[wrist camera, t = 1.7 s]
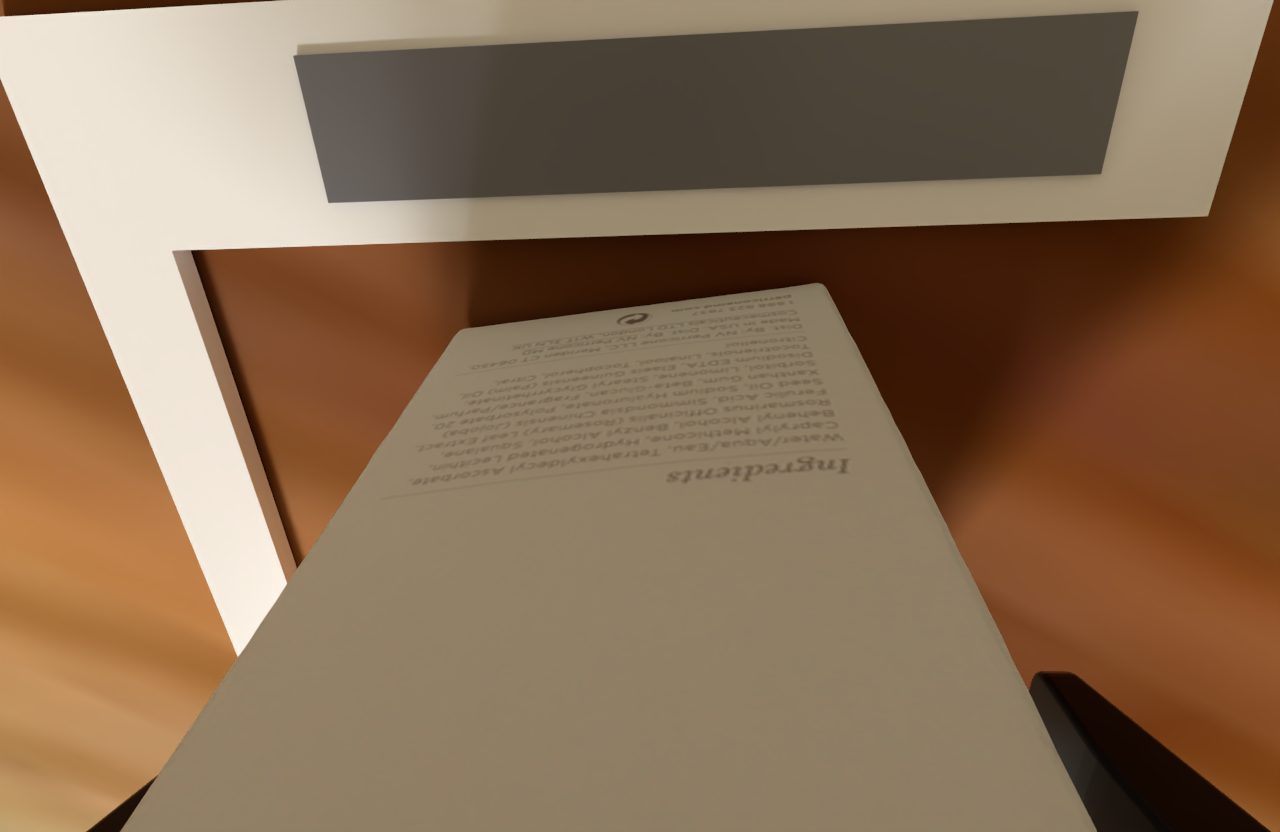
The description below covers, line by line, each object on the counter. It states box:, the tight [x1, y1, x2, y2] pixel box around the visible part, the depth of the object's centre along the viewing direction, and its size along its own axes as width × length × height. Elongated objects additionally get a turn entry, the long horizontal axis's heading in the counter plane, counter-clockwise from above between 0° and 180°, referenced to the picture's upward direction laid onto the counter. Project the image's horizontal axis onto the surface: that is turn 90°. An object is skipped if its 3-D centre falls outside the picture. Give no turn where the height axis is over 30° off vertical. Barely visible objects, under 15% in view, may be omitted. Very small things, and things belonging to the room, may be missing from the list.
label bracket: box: [0, 0, 1274, 657], centre depth 13 cm, size 16×16×1 cm
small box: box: [120, 283, 1097, 832], centre depth 8 cm, size 8×6×10 cm
